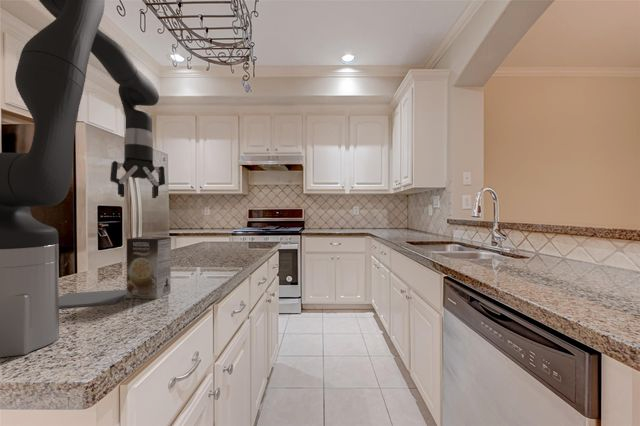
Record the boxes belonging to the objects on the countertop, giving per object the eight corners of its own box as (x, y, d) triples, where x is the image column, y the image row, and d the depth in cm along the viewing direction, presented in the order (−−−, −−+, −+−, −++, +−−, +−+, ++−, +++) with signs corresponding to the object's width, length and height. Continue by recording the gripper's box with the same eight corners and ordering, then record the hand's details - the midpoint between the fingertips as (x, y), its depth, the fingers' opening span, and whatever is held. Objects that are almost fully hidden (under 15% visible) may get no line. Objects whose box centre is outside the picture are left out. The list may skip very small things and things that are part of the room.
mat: (115, 303, 71) (115, 301, 71) (36, 310, 67) (36, 307, 67) (132, 291, 83) (132, 288, 83) (66, 295, 78) (66, 293, 78)
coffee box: (125, 298, 76) (124, 238, 76) (142, 291, 82) (141, 236, 82) (157, 299, 75) (156, 238, 75) (172, 292, 81) (171, 236, 81)
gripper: (113, 139, 81) (112, 195, 81) (167, 147, 91) (167, 197, 91) (108, 144, 86) (108, 197, 86) (160, 151, 96) (160, 199, 96)
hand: (138, 197), depth 88 cm, fingers open, 8 cm apart
